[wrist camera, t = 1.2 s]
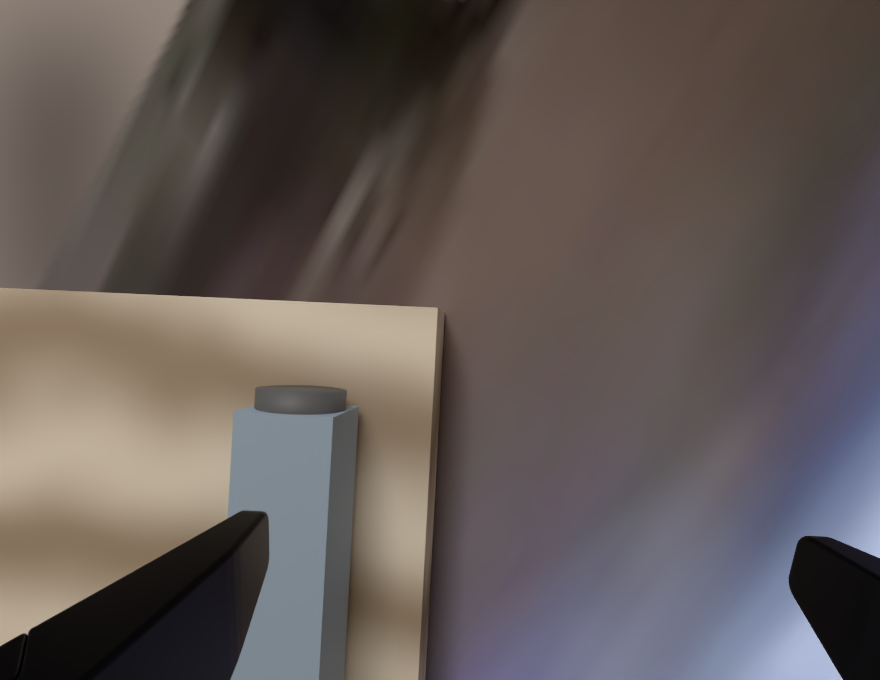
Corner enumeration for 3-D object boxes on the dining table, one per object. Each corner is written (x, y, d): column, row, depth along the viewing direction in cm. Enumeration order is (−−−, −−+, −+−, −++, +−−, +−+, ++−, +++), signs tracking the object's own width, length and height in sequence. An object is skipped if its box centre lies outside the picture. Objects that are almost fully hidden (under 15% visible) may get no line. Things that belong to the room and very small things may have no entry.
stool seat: (417, 826, 20) (406, 895, 17) (-43, 755, 22) (-112, 808, 19) (444, 312, 20) (437, 307, 17) (-15, 291, 22) (-80, 284, 19)
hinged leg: (337, 809, 17) (295, 931, 14) (252, 796, 18) (190, 912, 14) (359, 388, 17) (325, 399, 14) (275, 383, 18) (220, 392, 14)
